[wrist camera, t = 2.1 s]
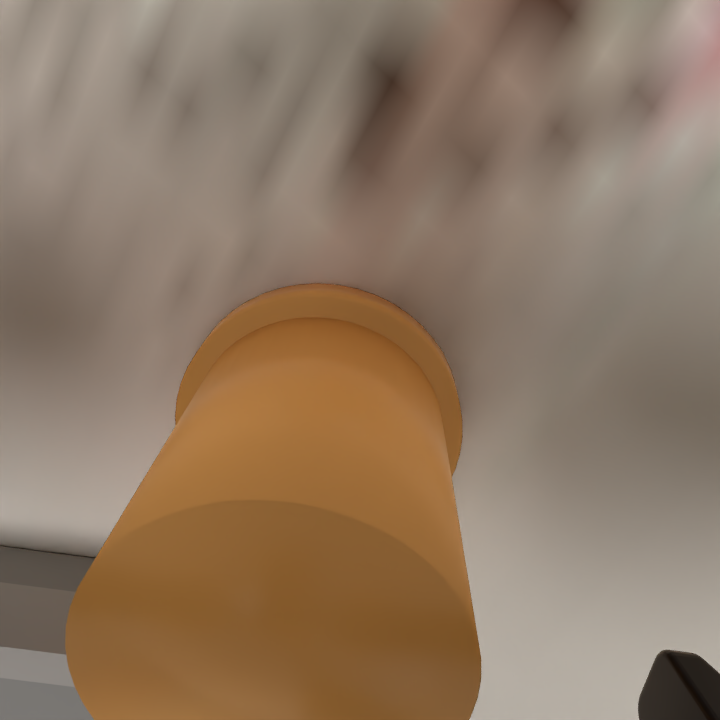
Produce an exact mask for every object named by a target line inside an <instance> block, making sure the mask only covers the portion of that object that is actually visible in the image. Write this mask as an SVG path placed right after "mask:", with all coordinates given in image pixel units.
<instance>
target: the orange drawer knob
mask: <svg viewBox="0 0 720 720" xmlns="http://www.w3.org/2000/svg"><path fill="white" fill-rule="evenodd" d="M175 421H176V426H175V428H174V430H173V431H172V433H171V434H170V436H169V438H168V439H167V441H166V443H165V444H164V446H163V448H162V449H161V451H160V453H159V454H158V456H157V458H156V459H155V461H154V463H153V464H152V466H151V467H150V469H149V471H148V472H147V474H146V476H145V477H144V479H143V481H142V482H141V484H140V486H139V487H138V489H137V491H136V492H135V494H134V495H133V497H132V499H131V500H130V502H129V504H128V505H127V507H126V509H125V510H124V512H123V514H122V515H121V517H120V519H119V520H118V522H117V524H116V525H115V527H114V528H113V530H112V532H111V533H110V535H109V537H108V538H107V540H106V542H105V543H104V545H103V547H102V548H101V550H100V552H99V553H98V555H97V556H96V558H95V560H94V561H93V563H92V565H91V566H90V568H89V570H88V571H87V573H86V575H85V576H84V578H83V580H82V581H81V583H80V584H79V586H78V588H77V590H76V593H75V595H74V598H73V600H72V603H71V605H70V608H69V613H68V618H67V623H66V634H65V649H66V656H67V662H68V668H69V671H70V674H71V677H72V680H73V683H74V686H75V688H76V690H77V692H78V694H79V696H80V698H81V700H82V702H83V704H84V706H85V707H86V709H87V710H88V712H89V713H90V714H91V716H92V717H93V719H94V720H469V719H470V717H471V714H472V712H473V709H474V706H475V704H476V701H477V698H478V693H479V687H480V682H481V655H480V649H479V642H478V636H477V630H476V624H475V618H474V612H473V606H472V600H471V593H470V587H469V581H468V575H467V569H466V563H465V557H464V550H463V544H462V538H461V532H460V526H459V520H458V514H457V508H456V501H455V495H454V489H453V483H452V475H453V473H454V471H455V469H456V465H457V462H458V459H459V455H460V450H461V443H462V415H461V409H460V403H459V398H458V394H457V389H456V385H455V382H454V378H453V375H452V372H451V369H450V367H449V365H448V362H447V360H446V358H445V356H444V354H443V352H442V351H441V349H440V348H439V346H438V345H437V343H436V342H435V340H434V339H433V338H432V336H431V335H430V334H429V333H428V332H427V331H426V330H425V329H424V327H423V326H422V325H421V324H420V323H418V322H417V321H416V320H415V319H414V318H413V317H411V316H410V315H409V314H408V313H406V312H405V311H403V310H402V309H400V308H399V307H397V306H396V305H394V304H393V303H391V302H389V301H387V300H385V299H383V298H381V297H379V296H376V295H374V294H371V293H368V292H365V291H362V290H359V289H356V288H351V287H346V286H341V285H334V284H320V283H316V284H299V285H294V286H288V287H283V288H279V289H276V290H273V291H270V292H267V293H263V294H261V295H259V296H257V297H255V298H253V299H251V300H249V301H247V302H245V303H244V304H242V305H241V306H239V307H238V308H236V309H235V310H233V311H232V312H231V313H229V314H228V315H227V316H226V317H225V318H224V319H223V320H222V321H220V322H219V323H218V325H217V326H216V327H215V328H214V329H213V331H212V332H211V333H210V334H209V335H208V337H207V338H206V340H205V341H204V342H203V344H202V345H201V347H200V348H199V350H198V351H197V353H196V354H195V356H194V357H193V359H192V361H191V362H190V364H189V366H188V367H187V370H186V372H185V374H184V377H183V379H182V381H181V384H180V388H179V392H178V396H177V402H176V412H175Z"/></svg>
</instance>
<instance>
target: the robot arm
mask: <svg viewBox="0 0 720 720" xmlns="http://www.w3.org/2000/svg"><path fill="white" fill-rule="evenodd" d="M638 714H639V720H720V673H718V672H717V671H716V670H715V669H714V668H713V667H712V666H711V665H709V664H708V663H707V662H706V661H705V660H704V659H703V658H701V657H700V656H698V655H697V654H693V653H689V652H681V651H673V650H663V651H661V652H660V653H659V654H658V655H657V657H656V658H655V661H654V663H653V665H652V668H651V670H650V673H649V675H648V677H647V680H646V682H645V685H644V687H643V689H642V692H641V694H640V698H639V703H638Z"/></svg>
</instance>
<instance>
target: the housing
mask: <svg viewBox="0 0 720 720" xmlns="http://www.w3.org/2000/svg"><path fill="white" fill-rule="evenodd" d="M94 560H95V558H88V557H80V556H72V555H64V554H57V553H49V552H41V551H33V550H25V549H18V548H10V547H2V546H0V720H94V719H93V717H92V716H91V714H90V713H89V712H88V710H87V709H86V707H85V706H84V704H83V702H82V700H81V698H80V696H79V694H78V692H77V690H76V688H75V686H74V683H73V680H72V677H71V674H70V671H69V668H68V662H67V656H66V649H65V634H66V623H67V618H68V613H69V608H70V605H71V603H72V600H73V598H74V595H75V593H76V590H77V588H78V586H79V584H80V583H81V581H82V580H83V578H84V576H85V575H86V573H87V571H88V570H89V568H90V566H91V565H92V563H93V561H94Z"/></svg>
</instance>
